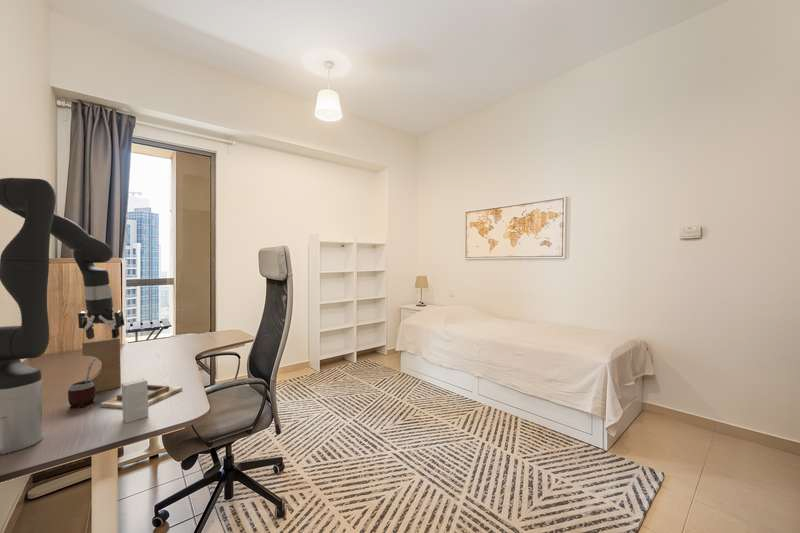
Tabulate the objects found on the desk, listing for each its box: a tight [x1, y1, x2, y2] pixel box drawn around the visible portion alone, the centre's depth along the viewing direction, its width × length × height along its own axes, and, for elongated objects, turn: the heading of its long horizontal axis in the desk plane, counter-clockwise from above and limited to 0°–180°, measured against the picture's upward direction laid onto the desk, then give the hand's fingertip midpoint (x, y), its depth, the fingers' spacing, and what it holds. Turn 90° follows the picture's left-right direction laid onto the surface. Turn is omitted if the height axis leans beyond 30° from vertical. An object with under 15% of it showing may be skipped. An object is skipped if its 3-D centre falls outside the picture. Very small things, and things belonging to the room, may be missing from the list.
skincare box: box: [121, 377, 149, 424], centre depth 107 cm, size 6×4×12 cm
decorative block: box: [81, 336, 122, 394], centre depth 132 cm, size 11×6×20 cm, turn 134°
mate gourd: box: [67, 358, 96, 409], centre depth 118 cm, size 8×8×15 cm
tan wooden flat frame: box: [100, 384, 183, 410], centre depth 123 cm, size 18×16×3 cm
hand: (103, 338), depth 126 cm, fingers open, 8 cm apart
